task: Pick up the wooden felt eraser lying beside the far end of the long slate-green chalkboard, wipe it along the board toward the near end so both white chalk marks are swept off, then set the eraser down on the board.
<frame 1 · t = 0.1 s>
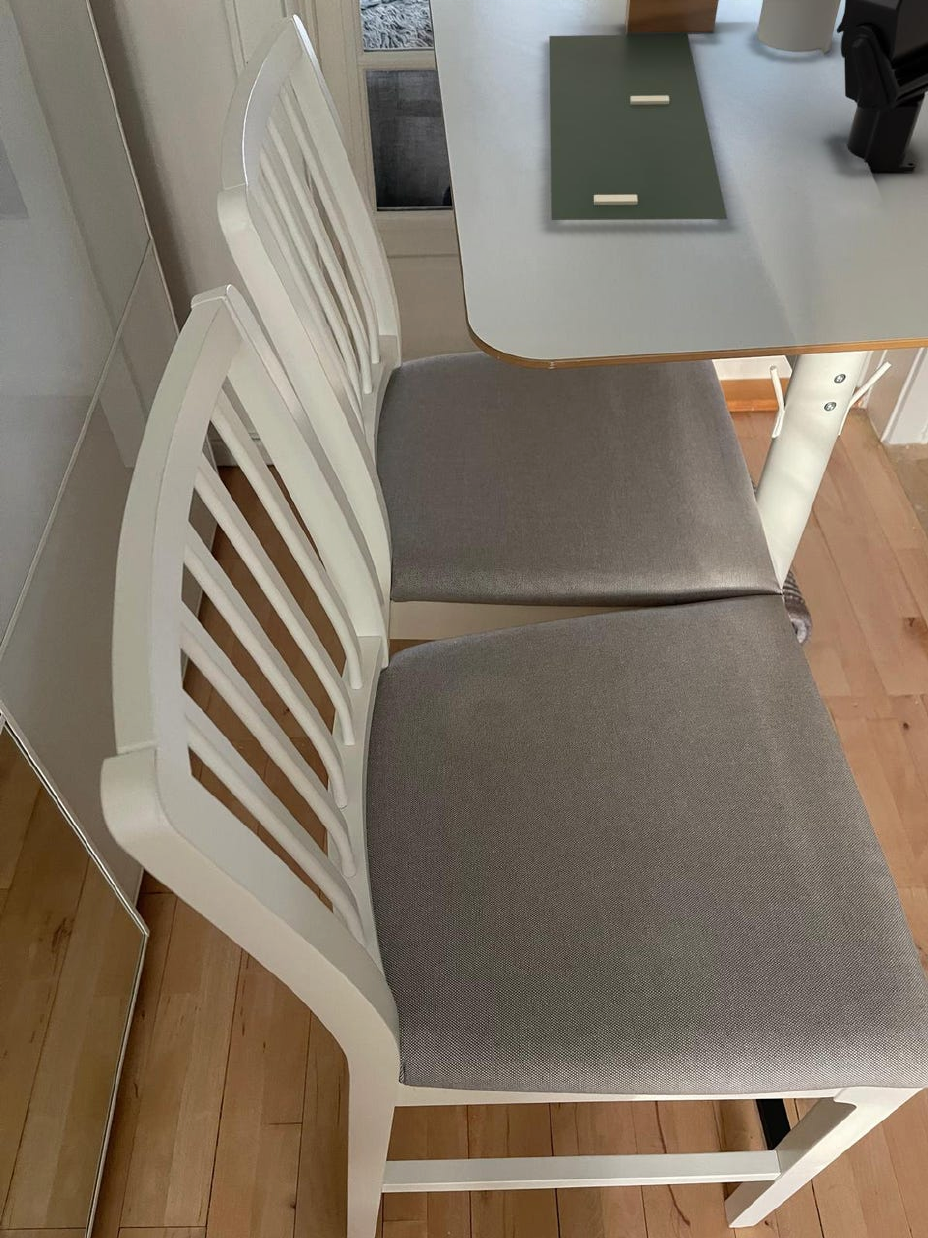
eraser: (667, 35, 116), on the table
cup: (791, 46, 114), on the table
chalk mark b: (615, 201, 92), point 1 cm above the table, touching chalkboard
chalkboard: (626, 125, 103), on the table
chalk mark a: (649, 101, 104), point 1 cm above the table, touching chalkboard
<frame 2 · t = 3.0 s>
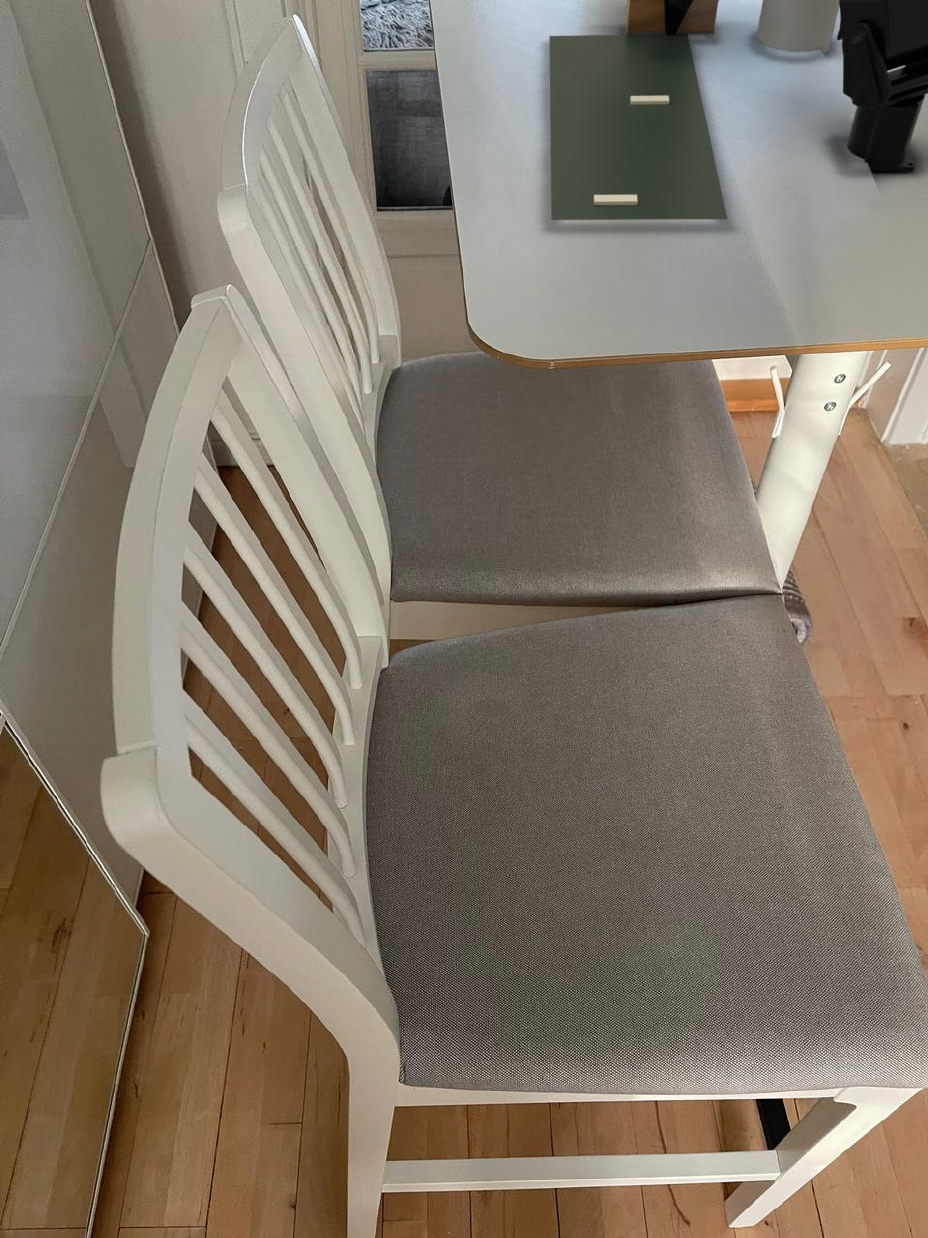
hand: (668, 25, 115), 1 cm above the table, tool pointing down, fingers closed on eraser, 4 cm apart
eraser: (667, 35, 116), on the table, touching gripper
everything else where it was.
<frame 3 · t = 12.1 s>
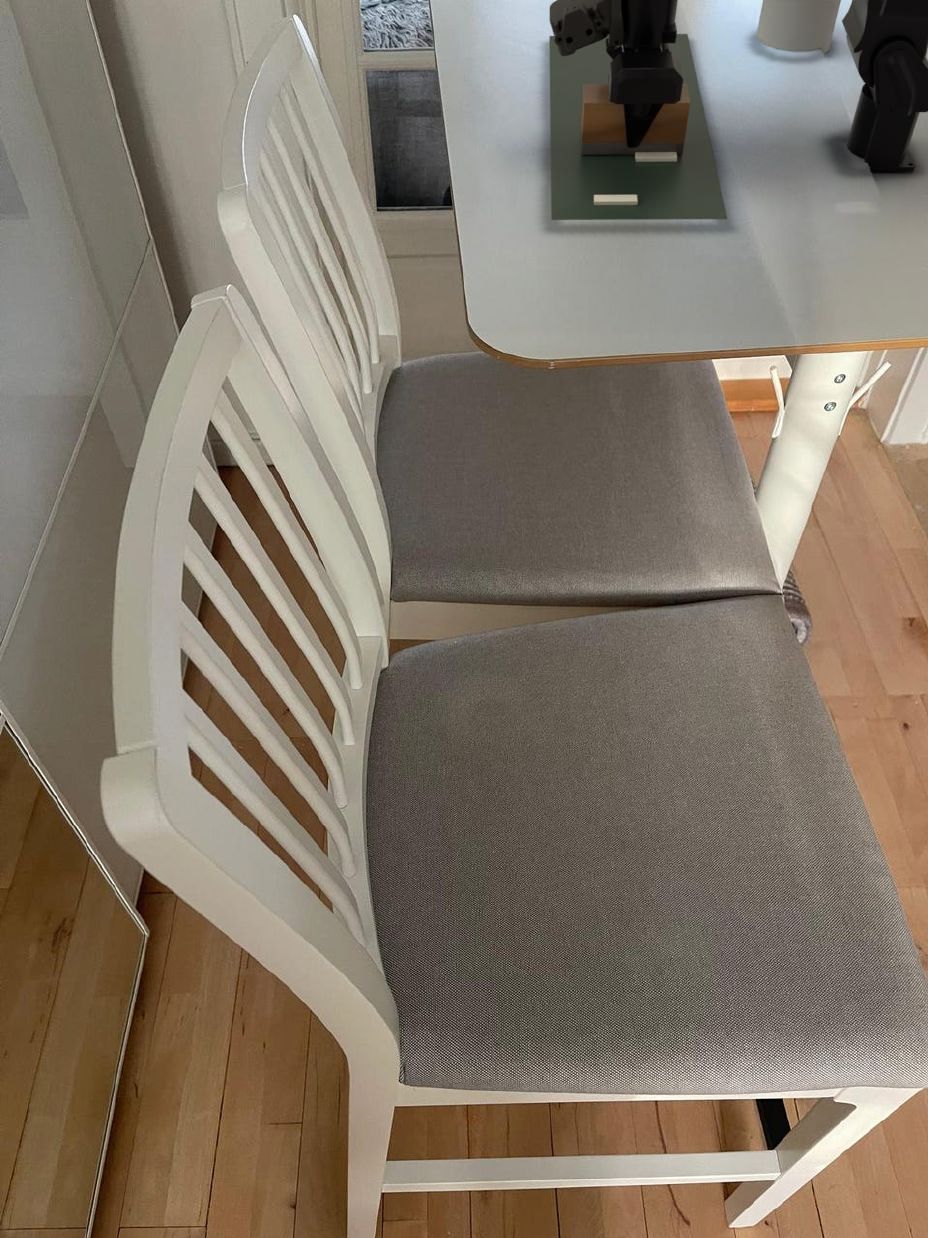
hand: (631, 135, 98), 2 cm above the table, tool pointing down, fingers closed on eraser, 4 cm apart
eraser: (630, 144, 98), point 1 cm above the table, touching gripper
chalk mark a: (655, 158, 97), point 1 cm above the table
everything else where it was.
when the fingers open (2 cm above the table, at t = 20.7 s): eraser stays where it is, resting on chalkboard.
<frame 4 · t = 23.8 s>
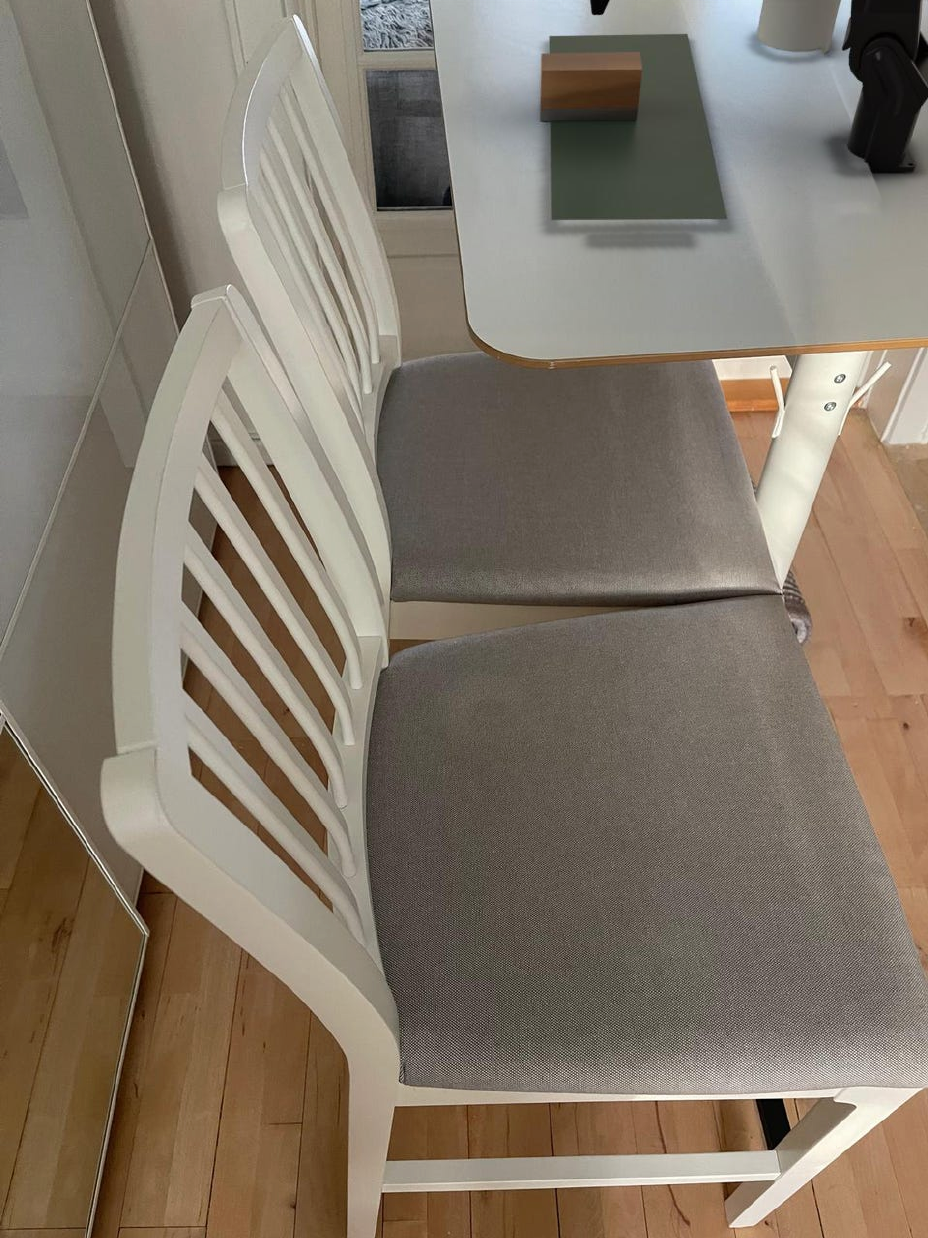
eraser: (587, 111, 103), point 1 cm above the table, touching chalkboard
chalk mark b: (616, 237, 90), on the table, tilted 180°
chalk mark a: (663, 236, 89), on the table, tilted 180°
everything else where it was.
at the end: chalk mark a on the table; chalk mark b on the table; eraser inside the target area on the chalkboard (4.2 cm from its centre), point 1.0 cm above the chalkboard's base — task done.
